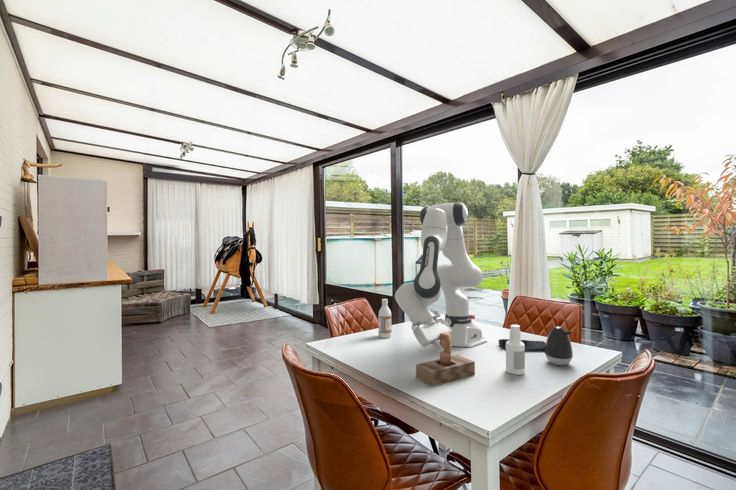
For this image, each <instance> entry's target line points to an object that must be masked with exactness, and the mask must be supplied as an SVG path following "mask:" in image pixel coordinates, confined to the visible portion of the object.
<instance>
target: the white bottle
mask: <svg viewBox="0 0 736 490" xmlns="http://www.w3.org/2000/svg"><path fill="white" fill-rule="evenodd" d="M509 327H510V329H509V339H510V340H509V341H507V342H506V351H505V371H506V372H507V373H508V374H510V375H516V376H517V375H518V376H522V375H524V374H525V372H526V371H525V370H526V364H525V363H526V356H525V355H526V351H525V344H524V343H523V342H521V340H522V338H521V325H519V324H511V325H509Z"/></svg>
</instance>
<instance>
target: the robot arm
mask: <svg viewBox="0 0 736 490" xmlns="http://www.w3.org/2000/svg"><path fill="white" fill-rule="evenodd" d="M468 214H469V213H468V209H467V207H466V204H465V203H463V202H461V201H460V202H459V201H454V202H442V203H438V204H433V205H427V206H425V207H422V209H421V210H420V212H419V221H420V224H421V232H420V233H421V234H420V235H421V236H420V243H421V247H422V255H421V263H420V268H419V271H418V272H417V273H416V276H415V277H414V281H413V282H412V283H407V282H405V283H403V284H401V285H400V286H399V287H398V288H397V289H396V291H395V293H394V300H395V301H396V304H398V306H399V307H400V309H401V310H402V312H403V313H405V314H406V316H407V317H408V319H409V321H410V322H411V323H412V324H411V330H412V333H413V335H414V337H415V338H416V340H417V342H418V343H419V344H420V346H421V347H423V348H425V347H427V346H430V345H432V347H434V348H435V349H437V350H438V352H439V353H440V352H441V353H442V352H443V351H445V348H444V346H441V345H440V342H439V341H440V333H449V334H451V348H452V347H463V348H464V347H465V348H473V347H476V346H477V347H478V346H479V345H482V344H485V343H487V342H488V339H487V338H485V337H483V332H482V329H481V328H480V327H479V326H478V325H476V324H475V323H474V322H473V321H472V320H475V319H476V315H474V314H470V310H469V309H470V306H469V305H470V303H469V298H468V297H467V295H465V294H464V293H463V292H462V291H461V289H460V288H467V289H469V288H476V287H479V286H480V285H481V284H482V281H483V273H482V270H481V268H480V267H478V266H477V265H476V264H474V263H473V262H472V260H471V259H470V257H469V255H468V252H467V250H466V243H465V237H464V232H463V231H464V230H463V228H462V226H463V225H464V224H465V223H466V222H467V220H468ZM440 252H442V255H443V256H444V257H445V258H446V259H448V260H449V262H450V263H443V264H439V265H438V263H439V255H440ZM441 290H442V292H443V295H444V298H445V299H444V300H445V301H444V302H445V314H444V318H443V316H441V315H442V314H441V312H440V311H438V310H433V309H432V308H431V309H430V308H429V307H428V306H430V305H432V304H434V303H436V302H438V301H439V299H440V297H441V294H442V293H441Z"/></svg>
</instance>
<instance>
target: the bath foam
mask: <svg viewBox="0 0 736 490" xmlns="http://www.w3.org/2000/svg"><path fill="white" fill-rule="evenodd" d="M388 303H389V301H388V298H382V299H381V307H380V309H379V311H378V315H377V316H378V319H377V320H378V338H381V339H390V338H392V336H393V334H392V327H393V326H392V321H393V320H392V311H391V309H390V308H389V306H388Z"/></svg>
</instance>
